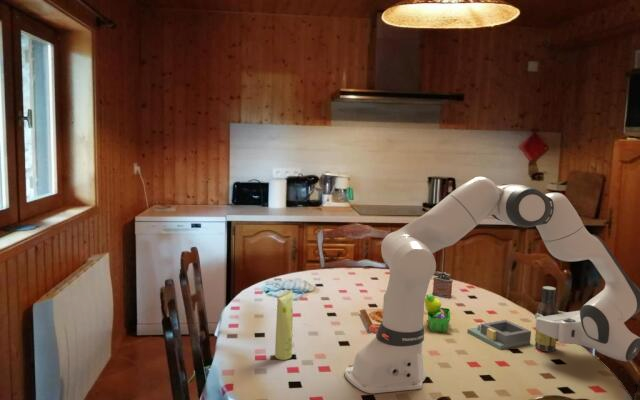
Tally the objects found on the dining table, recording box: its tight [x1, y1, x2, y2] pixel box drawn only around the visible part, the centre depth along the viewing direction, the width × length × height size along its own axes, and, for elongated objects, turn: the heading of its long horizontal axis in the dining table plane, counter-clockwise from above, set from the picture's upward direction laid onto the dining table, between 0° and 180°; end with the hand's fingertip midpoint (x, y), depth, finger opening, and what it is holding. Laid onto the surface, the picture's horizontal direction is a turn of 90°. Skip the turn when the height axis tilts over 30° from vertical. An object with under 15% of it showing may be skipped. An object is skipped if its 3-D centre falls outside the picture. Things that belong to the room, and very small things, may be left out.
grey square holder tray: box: [467, 320, 531, 350], centre depth 177 cm, size 13×15×3 cm
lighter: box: [431, 271, 454, 299], centre depth 220 cm, size 8×3×10 cm, turn 58°
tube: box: [274, 289, 293, 361], centre depth 155 cm, size 6×5×20 cm
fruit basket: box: [424, 294, 452, 333], centre depth 185 cm, size 11×9×11 cm
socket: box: [480, 319, 532, 345], centre depth 176 cm, size 12×11×3 cm
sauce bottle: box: [534, 285, 559, 352], centre depth 169 cm, size 6×6×20 cm
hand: (545, 314), depth 170 cm, fingers closed on sauce bottle, 6 cm apart
